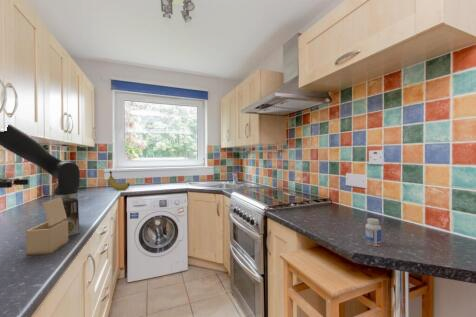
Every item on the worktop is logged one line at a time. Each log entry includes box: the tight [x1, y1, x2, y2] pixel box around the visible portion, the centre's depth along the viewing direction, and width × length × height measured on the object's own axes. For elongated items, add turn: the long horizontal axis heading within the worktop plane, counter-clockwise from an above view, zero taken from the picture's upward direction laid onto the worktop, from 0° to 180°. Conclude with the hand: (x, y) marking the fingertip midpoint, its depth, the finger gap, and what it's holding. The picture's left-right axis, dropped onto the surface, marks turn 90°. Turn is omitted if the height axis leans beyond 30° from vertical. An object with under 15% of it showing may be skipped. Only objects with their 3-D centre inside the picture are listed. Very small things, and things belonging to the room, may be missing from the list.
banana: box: [107, 170, 130, 191], centre depth 226 cm, size 23×6×20 cm, turn 83°
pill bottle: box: [364, 217, 383, 247], centre depth 87 cm, size 6×5×10 cm
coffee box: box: [62, 198, 80, 237], centre depth 100 cm, size 9×6×16 cm
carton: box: [25, 221, 70, 256], centre depth 86 cm, size 11×8×9 cm
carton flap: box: [42, 197, 67, 226], centre depth 86 cm, size 10×1×9 cm, turn 10°
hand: (20, 183), depth 84 cm, fingers open, 8 cm apart
